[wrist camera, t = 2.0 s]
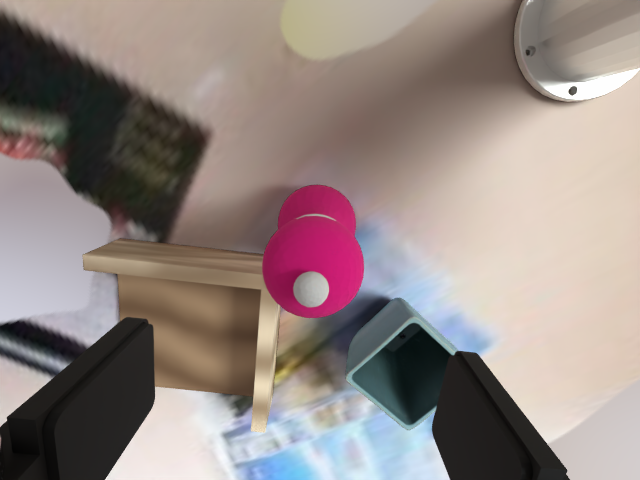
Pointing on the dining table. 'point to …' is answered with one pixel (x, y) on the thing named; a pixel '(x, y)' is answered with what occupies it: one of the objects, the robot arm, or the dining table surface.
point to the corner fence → (210, 271)
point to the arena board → (197, 329)
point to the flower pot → (399, 363)
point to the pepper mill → (314, 254)
